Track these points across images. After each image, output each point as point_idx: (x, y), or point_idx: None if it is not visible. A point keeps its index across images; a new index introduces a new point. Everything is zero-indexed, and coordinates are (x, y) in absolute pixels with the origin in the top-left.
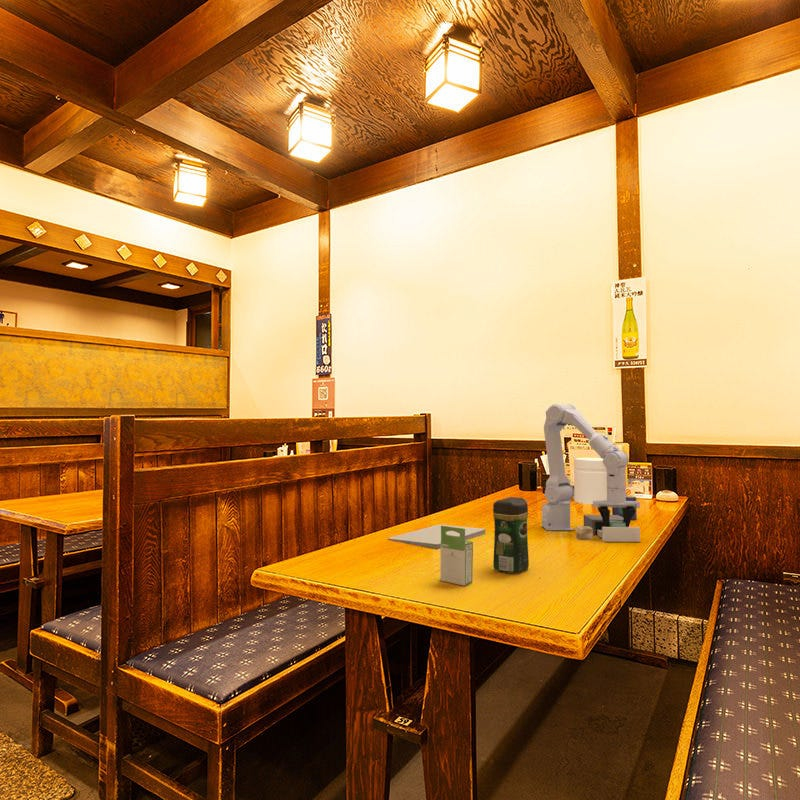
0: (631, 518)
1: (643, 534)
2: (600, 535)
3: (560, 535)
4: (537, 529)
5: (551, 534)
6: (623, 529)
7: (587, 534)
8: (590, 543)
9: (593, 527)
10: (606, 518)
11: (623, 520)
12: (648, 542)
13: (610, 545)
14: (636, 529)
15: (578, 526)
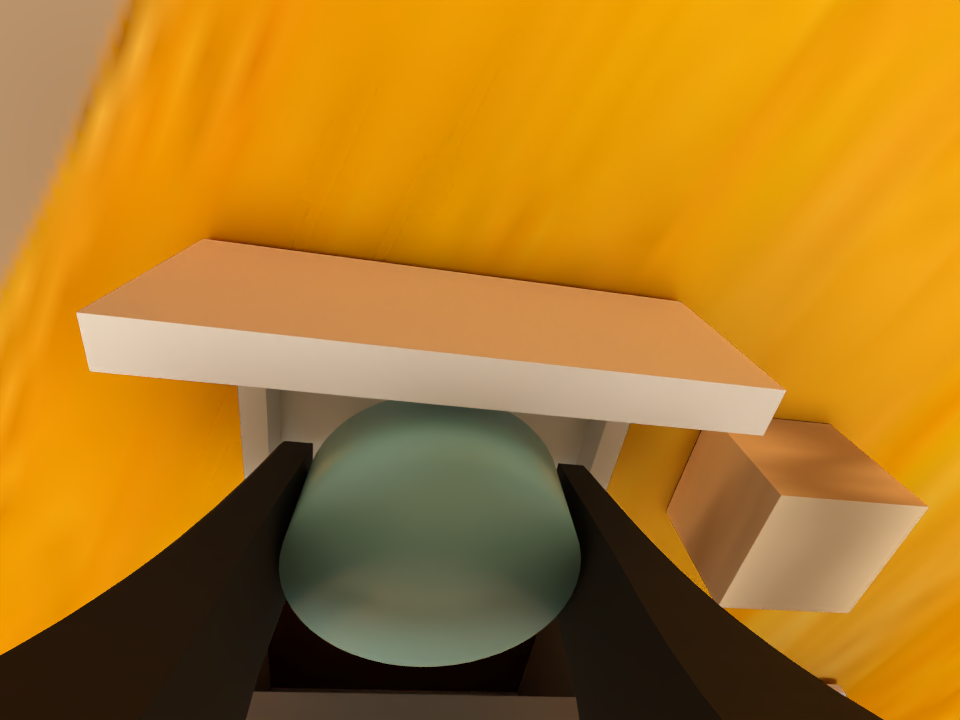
0: (130, 575)
1: (39, 575)
2: None
3: None
4: (868, 707)
5: (907, 594)
6: (427, 338)
7: (795, 452)
8: (869, 253)
9: None
10: (697, 596)
11: None
12: (80, 227)
13: (712, 113)
14: (173, 308)
15: (843, 599)
